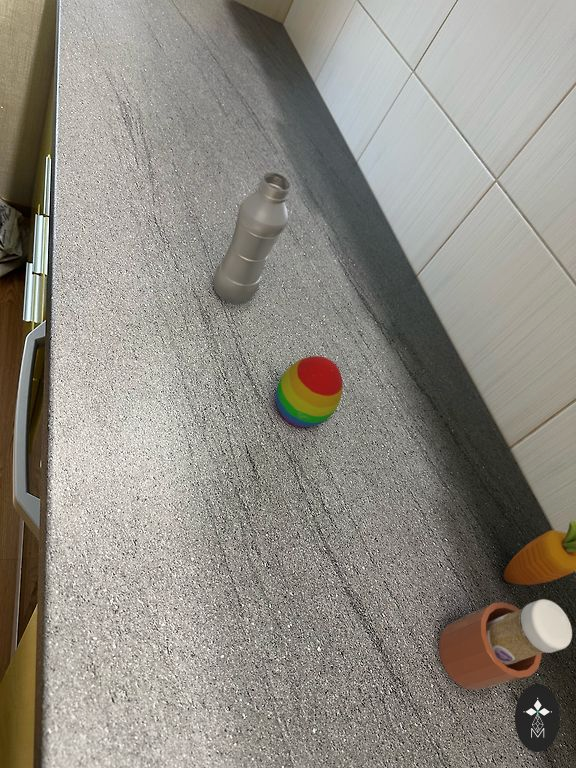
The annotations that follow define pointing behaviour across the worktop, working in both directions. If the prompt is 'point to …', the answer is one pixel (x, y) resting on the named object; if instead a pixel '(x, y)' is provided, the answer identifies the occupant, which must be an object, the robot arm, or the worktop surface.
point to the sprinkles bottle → (529, 632)
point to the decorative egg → (309, 391)
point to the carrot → (544, 558)
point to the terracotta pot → (479, 651)
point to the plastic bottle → (253, 239)
